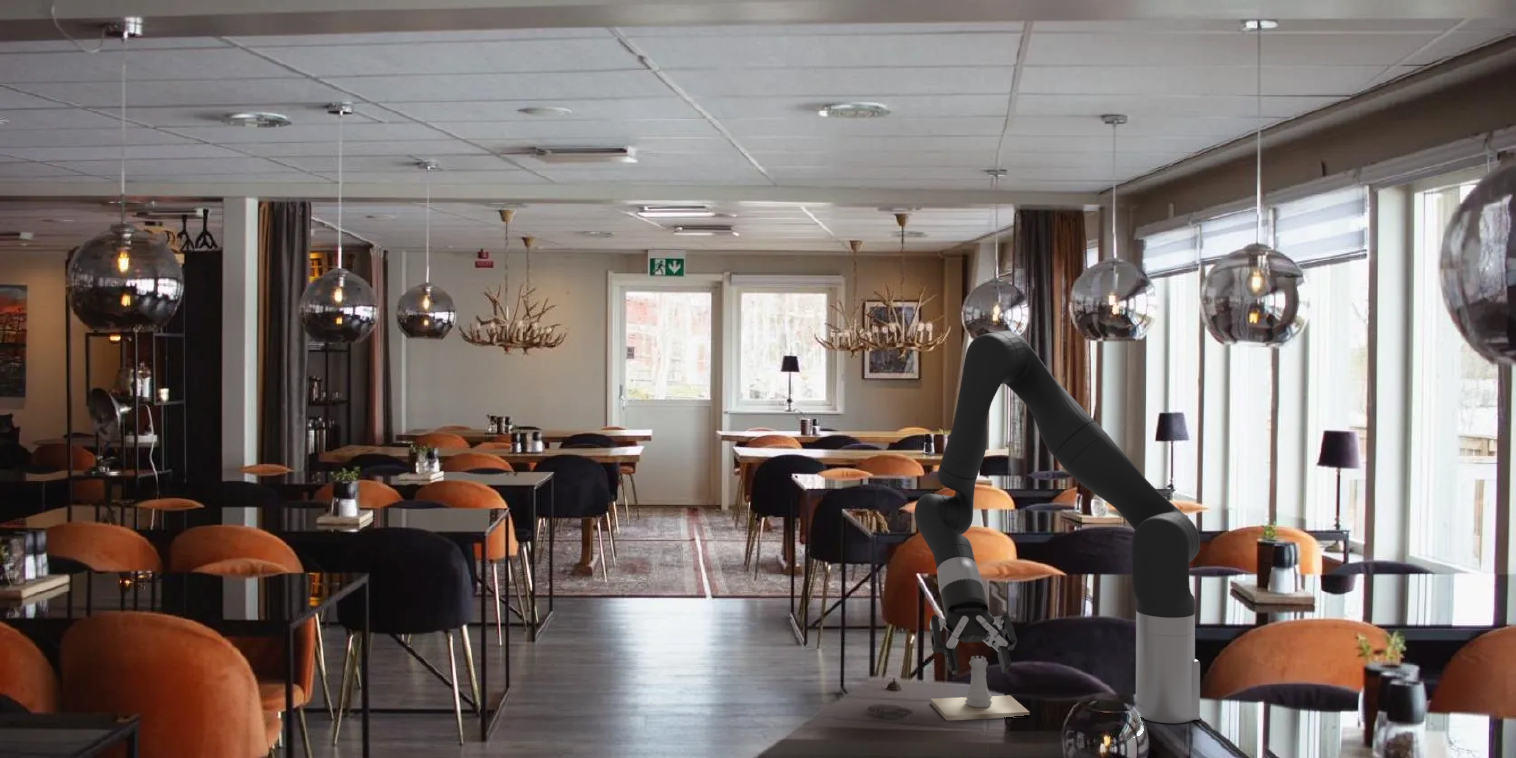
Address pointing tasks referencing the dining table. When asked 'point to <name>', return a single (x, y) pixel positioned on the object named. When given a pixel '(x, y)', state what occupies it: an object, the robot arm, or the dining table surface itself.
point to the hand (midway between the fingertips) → (981, 671)
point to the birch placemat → (962, 711)
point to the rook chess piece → (978, 684)
